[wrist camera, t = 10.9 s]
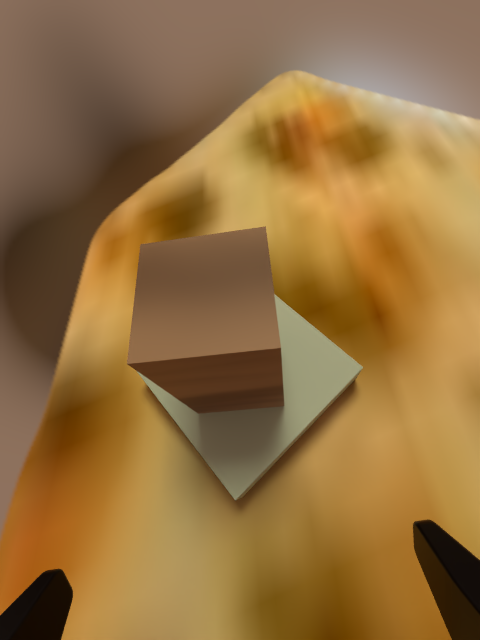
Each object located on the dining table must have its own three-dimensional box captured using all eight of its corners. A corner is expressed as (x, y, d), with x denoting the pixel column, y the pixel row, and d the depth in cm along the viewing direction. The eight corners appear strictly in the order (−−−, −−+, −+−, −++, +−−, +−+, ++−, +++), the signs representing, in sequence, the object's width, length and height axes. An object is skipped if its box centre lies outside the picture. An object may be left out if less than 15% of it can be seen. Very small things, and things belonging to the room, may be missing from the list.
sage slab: (243, 497, 19) (235, 500, 16) (151, 379, 23) (133, 366, 20) (354, 381, 21) (363, 367, 18) (251, 293, 25) (246, 271, 22)
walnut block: (284, 406, 18) (281, 347, 10) (198, 413, 18) (127, 363, 10) (274, 326, 20) (265, 226, 12) (198, 335, 20) (140, 244, 12)
